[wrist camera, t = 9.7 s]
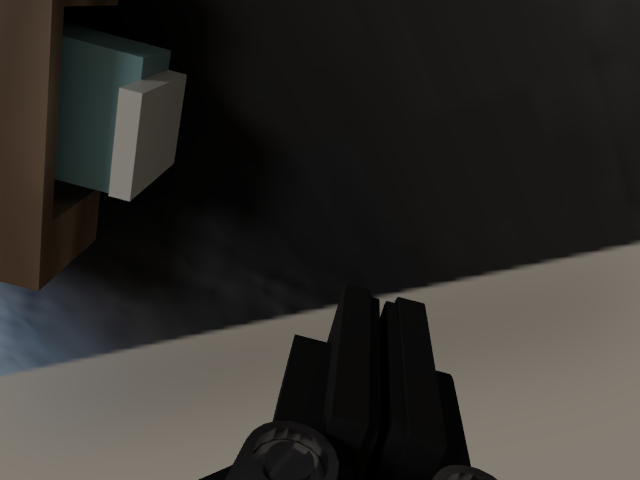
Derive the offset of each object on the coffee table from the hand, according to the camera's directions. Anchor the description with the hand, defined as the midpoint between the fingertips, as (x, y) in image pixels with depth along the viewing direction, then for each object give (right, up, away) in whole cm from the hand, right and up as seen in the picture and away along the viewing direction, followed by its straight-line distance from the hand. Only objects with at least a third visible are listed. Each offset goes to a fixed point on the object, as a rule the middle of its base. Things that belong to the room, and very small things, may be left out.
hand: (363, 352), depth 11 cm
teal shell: (-16, +11, +19) cm, 27 cm away
